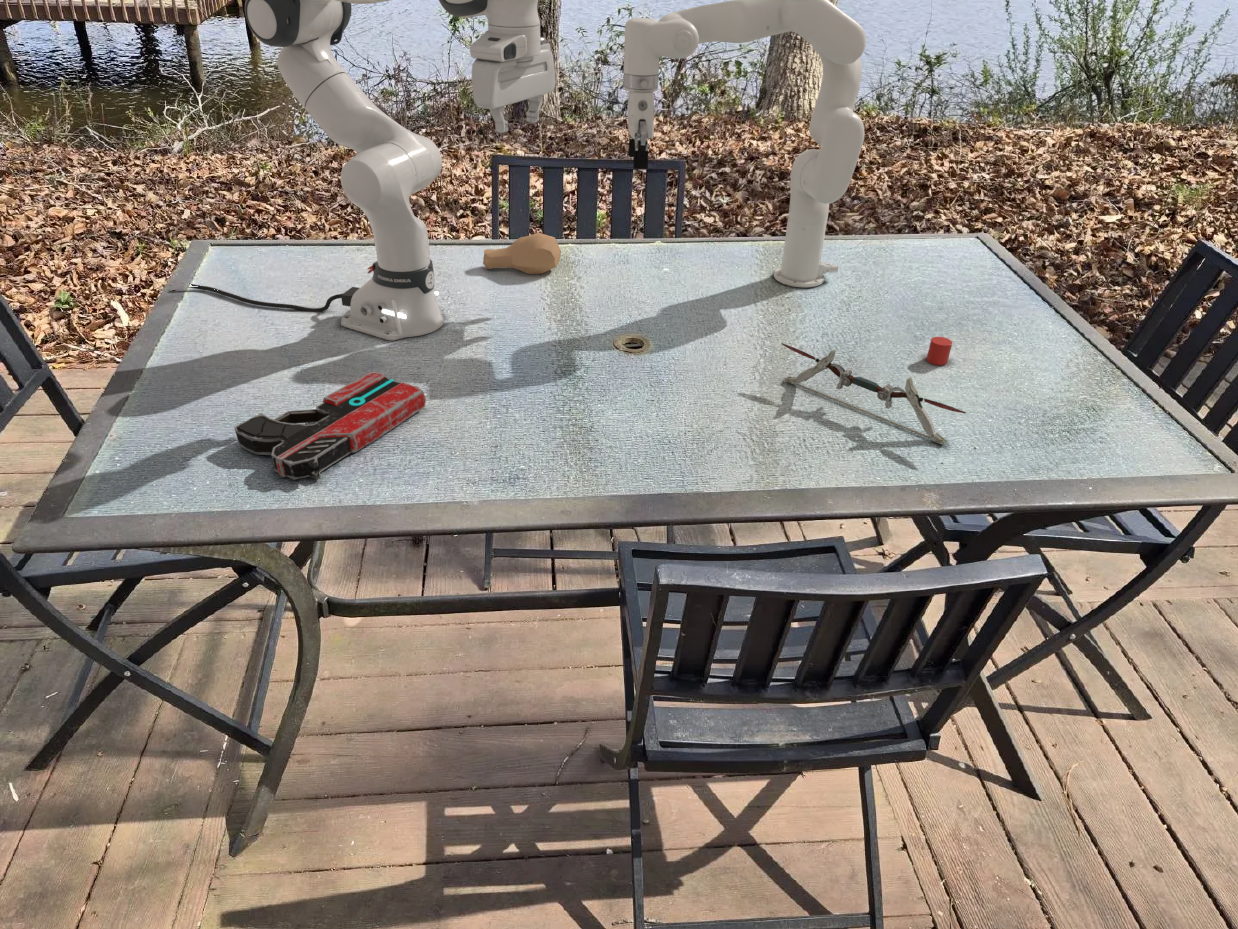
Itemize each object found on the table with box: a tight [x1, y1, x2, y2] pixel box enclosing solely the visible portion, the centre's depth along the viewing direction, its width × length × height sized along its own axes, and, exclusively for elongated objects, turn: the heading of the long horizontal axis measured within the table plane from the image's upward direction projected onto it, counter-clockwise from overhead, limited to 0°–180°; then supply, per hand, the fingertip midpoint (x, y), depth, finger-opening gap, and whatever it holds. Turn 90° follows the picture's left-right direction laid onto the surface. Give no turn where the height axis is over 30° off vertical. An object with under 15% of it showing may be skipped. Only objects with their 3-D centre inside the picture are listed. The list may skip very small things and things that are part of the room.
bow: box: [780, 342, 967, 445], centre depth 165 cm, size 39×2×10 cm, turn 47°
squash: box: [482, 232, 562, 275], centre depth 222 cm, size 11×20×9 cm, turn 90°
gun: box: [234, 371, 427, 481], centre depth 156 cm, size 4×31×19 cm
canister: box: [926, 336, 953, 366], centre depth 186 cm, size 4×4×5 cm
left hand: (517, 126), depth 158 cm, fingers open, 8 cm apart
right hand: (637, 162), depth 200 cm, fingers open, 9 cm apart
